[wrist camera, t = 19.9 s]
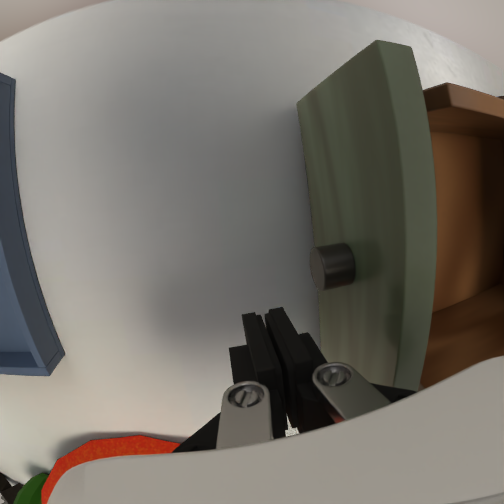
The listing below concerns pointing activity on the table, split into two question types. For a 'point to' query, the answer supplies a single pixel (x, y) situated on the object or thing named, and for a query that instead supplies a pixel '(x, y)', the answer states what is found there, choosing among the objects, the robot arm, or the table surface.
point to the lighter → (8, 490)
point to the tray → (19, 270)
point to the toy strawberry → (105, 455)
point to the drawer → (405, 219)
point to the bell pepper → (32, 490)
